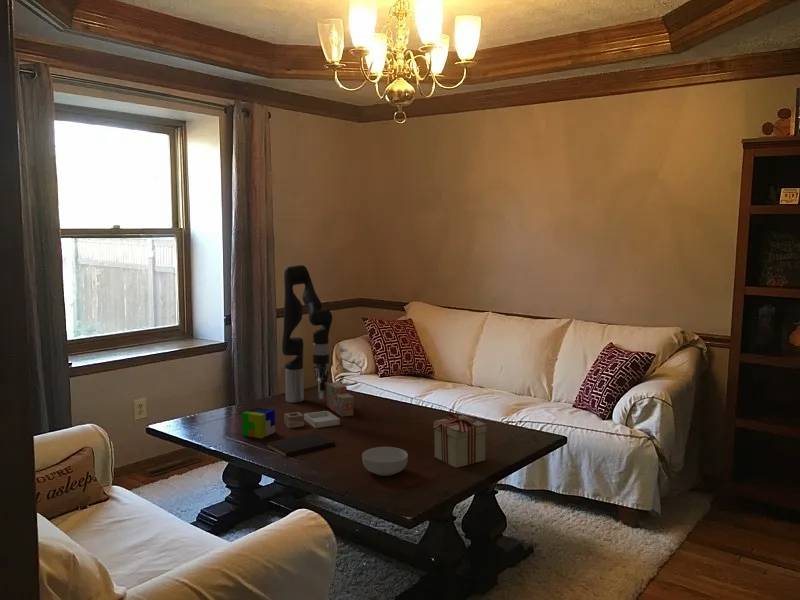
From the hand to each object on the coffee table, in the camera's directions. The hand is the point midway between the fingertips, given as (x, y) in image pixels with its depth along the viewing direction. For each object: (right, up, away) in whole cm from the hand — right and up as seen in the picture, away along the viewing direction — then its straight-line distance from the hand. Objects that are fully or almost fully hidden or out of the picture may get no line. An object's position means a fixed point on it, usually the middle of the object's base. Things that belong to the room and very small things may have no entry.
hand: (321, 389), depth 310 cm
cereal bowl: (+31, -22, -63) cm, 74 cm away
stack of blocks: (+7, -14, +21) cm, 26 cm away
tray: (0, -15, +2) cm, 15 cm away
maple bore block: (-12, -16, -3) cm, 20 cm away
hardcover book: (-4, -20, -34) cm, 39 cm away
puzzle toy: (-25, -17, -17) cm, 35 cm away
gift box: (+59, -21, -50) cm, 80 cm away
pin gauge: (0, -4, 0) cm, 4 cm away
